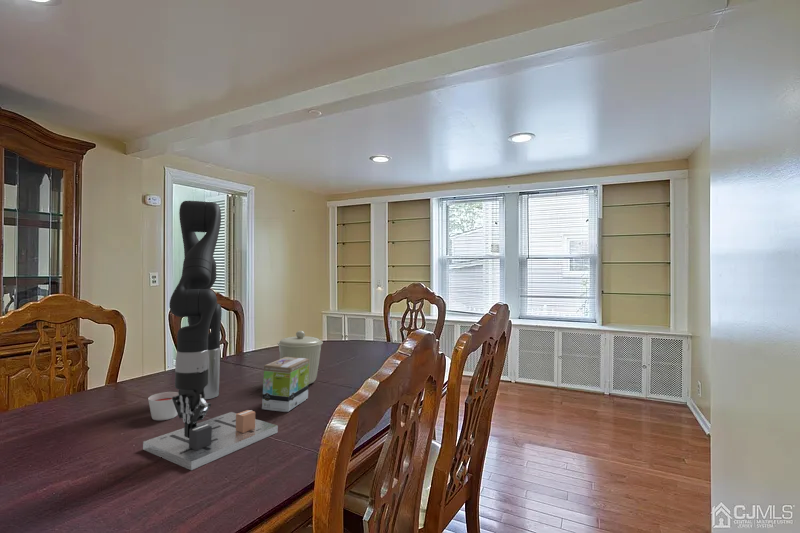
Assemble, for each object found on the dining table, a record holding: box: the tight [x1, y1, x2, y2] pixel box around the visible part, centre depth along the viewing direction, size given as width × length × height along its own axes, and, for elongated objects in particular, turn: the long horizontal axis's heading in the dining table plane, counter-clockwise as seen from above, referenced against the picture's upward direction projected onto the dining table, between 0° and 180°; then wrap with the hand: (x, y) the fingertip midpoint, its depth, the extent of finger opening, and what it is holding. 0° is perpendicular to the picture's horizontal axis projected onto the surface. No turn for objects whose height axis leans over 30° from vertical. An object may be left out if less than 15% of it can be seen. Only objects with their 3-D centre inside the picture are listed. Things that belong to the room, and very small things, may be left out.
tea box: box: [261, 357, 310, 413], centre depth 141 cm, size 15×10×15 cm
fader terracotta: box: [236, 409, 256, 433], centre depth 113 cm, size 3×4×5 cm
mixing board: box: [142, 411, 279, 471], centre depth 110 cm, size 20×26×2 cm
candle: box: [147, 391, 178, 421], centre depth 127 cm, size 9×9×6 cm
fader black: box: [189, 424, 212, 450], centre depth 102 cm, size 3×4×5 cm
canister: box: [276, 330, 324, 385], centre depth 167 cm, size 18×18×21 cm
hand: (190, 436), depth 104 cm, fingers closed
